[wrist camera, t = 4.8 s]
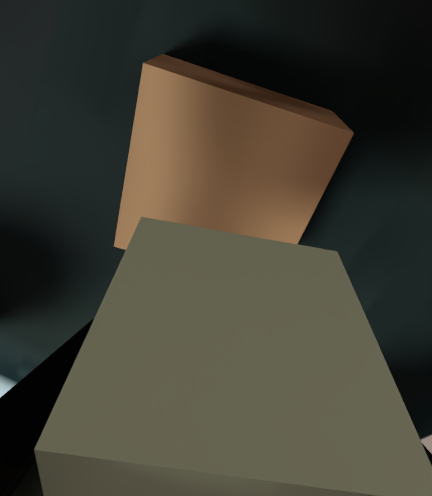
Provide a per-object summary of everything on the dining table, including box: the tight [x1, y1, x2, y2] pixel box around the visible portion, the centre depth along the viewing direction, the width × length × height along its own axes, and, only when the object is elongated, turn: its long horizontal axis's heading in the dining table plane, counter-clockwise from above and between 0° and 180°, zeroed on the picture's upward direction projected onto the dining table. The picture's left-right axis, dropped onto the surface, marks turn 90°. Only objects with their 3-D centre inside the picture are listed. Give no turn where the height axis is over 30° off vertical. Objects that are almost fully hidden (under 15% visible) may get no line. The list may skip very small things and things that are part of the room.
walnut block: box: [114, 54, 354, 250], centre depth 16 cm, size 8×8×4 cm
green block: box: [34, 217, 432, 496], centre depth 7 cm, size 4×4×5 cm
